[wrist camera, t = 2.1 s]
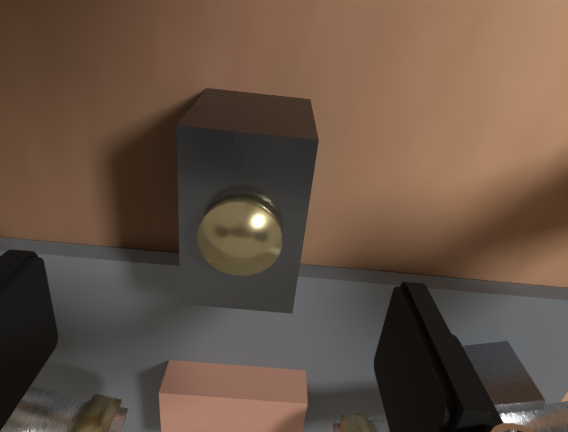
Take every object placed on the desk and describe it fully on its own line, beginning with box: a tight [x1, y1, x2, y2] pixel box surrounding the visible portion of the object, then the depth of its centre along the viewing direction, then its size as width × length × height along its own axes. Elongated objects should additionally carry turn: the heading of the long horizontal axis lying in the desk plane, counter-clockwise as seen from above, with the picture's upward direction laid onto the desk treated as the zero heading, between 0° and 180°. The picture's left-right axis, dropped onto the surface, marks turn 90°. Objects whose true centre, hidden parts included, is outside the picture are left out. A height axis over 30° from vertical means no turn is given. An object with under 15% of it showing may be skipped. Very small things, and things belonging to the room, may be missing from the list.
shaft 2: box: [333, 341, 568, 432], centre depth 20 cm, size 11×4×7 cm, turn 99°
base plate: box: [0, 237, 568, 432], centre depth 21 cm, size 13×36×3 cm, turn 84°
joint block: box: [176, 88, 318, 314], centre depth 15 cm, size 4×6×6 cm, turn 174°
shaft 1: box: [0, 386, 128, 432], centre depth 19 cm, size 11×4×7 cm, turn 69°
